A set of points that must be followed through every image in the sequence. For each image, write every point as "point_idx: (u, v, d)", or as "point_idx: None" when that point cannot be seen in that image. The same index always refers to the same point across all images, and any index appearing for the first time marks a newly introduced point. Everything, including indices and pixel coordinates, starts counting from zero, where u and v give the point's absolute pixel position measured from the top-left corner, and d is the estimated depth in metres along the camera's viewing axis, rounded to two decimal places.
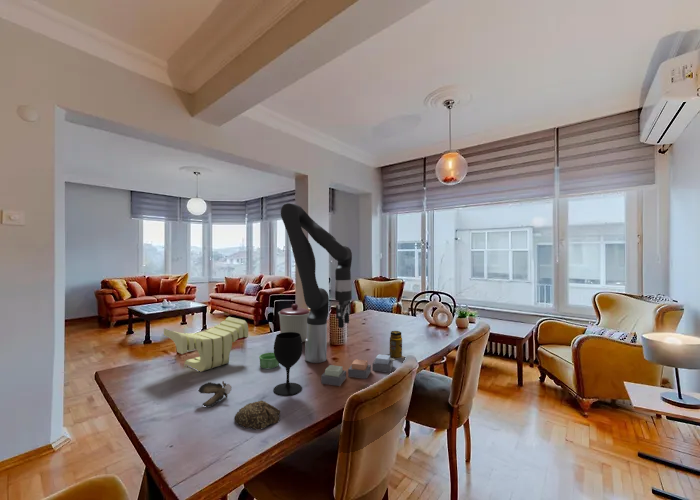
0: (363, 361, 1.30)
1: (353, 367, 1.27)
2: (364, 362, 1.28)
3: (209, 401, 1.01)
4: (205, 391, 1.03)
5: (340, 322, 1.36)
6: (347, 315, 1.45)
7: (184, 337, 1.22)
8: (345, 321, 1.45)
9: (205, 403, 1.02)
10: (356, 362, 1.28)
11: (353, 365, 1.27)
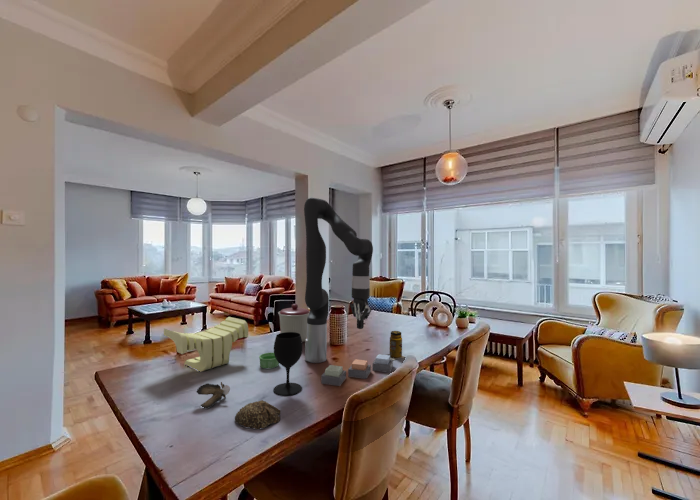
0: (363, 361, 1.30)
1: (353, 367, 1.27)
2: (364, 362, 1.28)
3: (207, 402, 1.01)
4: (203, 392, 1.03)
5: (362, 323, 1.28)
6: None
7: (184, 337, 1.22)
8: None
9: (203, 404, 1.01)
10: (356, 362, 1.28)
11: (353, 365, 1.27)
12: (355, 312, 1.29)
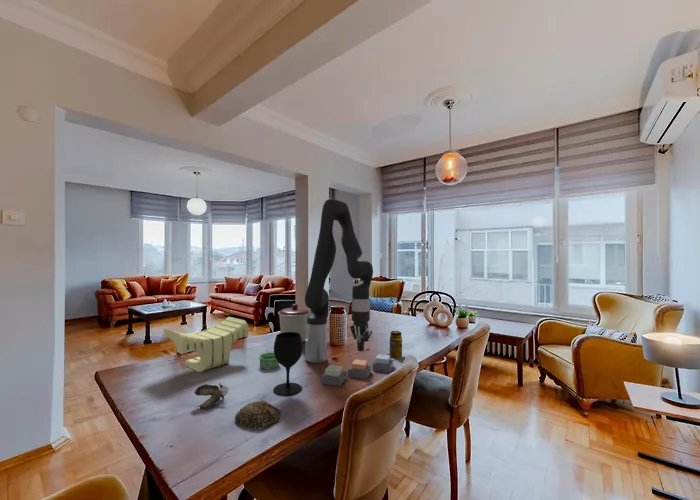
0: (363, 361, 1.30)
1: (353, 367, 1.27)
2: (364, 362, 1.28)
3: (205, 403, 1.00)
4: (201, 393, 1.02)
5: (362, 345, 1.28)
6: None
7: (184, 337, 1.22)
8: None
9: (201, 405, 1.00)
10: (356, 362, 1.28)
11: (353, 365, 1.27)
12: (355, 335, 1.29)
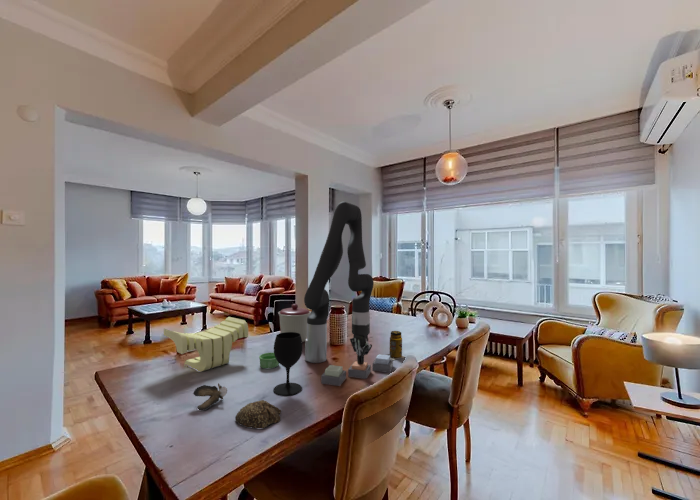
0: None
1: None
2: (364, 364, 1.28)
3: (204, 404, 0.99)
4: (200, 394, 1.01)
5: (362, 358, 1.28)
6: None
7: (184, 337, 1.22)
8: None
9: (200, 406, 1.00)
10: (356, 364, 1.28)
11: (353, 367, 1.27)
12: (355, 347, 1.29)
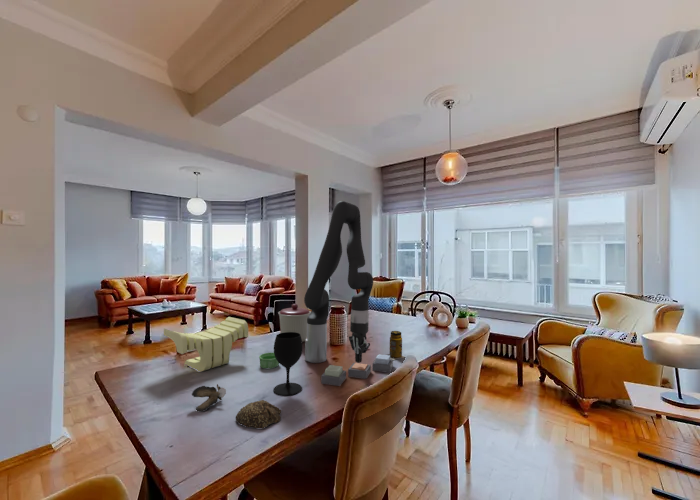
0: (363, 365, 1.30)
1: None
2: (364, 366, 1.28)
3: (203, 405, 0.99)
4: (199, 395, 1.01)
5: (360, 357, 1.27)
6: None
7: (184, 337, 1.22)
8: None
9: (198, 407, 0.99)
10: (356, 366, 1.28)
11: None
12: (354, 346, 1.28)
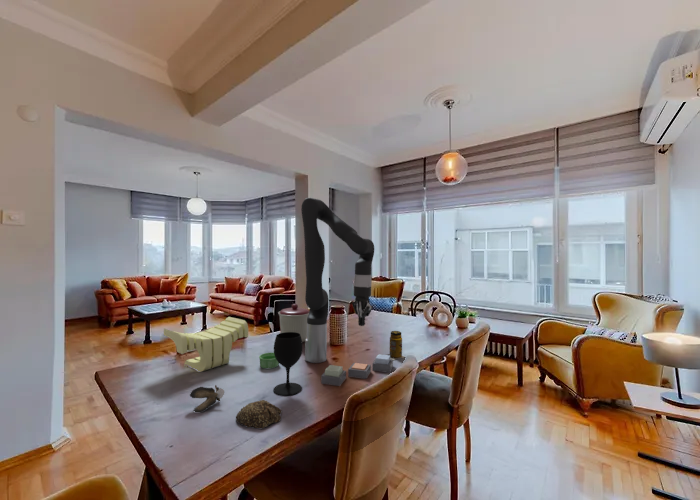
0: (363, 365, 1.30)
1: None
2: (364, 366, 1.28)
3: (201, 406, 0.98)
4: (197, 396, 1.00)
5: (363, 320, 1.32)
6: None
7: (184, 337, 1.22)
8: None
9: (197, 408, 0.98)
10: (356, 366, 1.28)
11: None
12: (357, 310, 1.33)
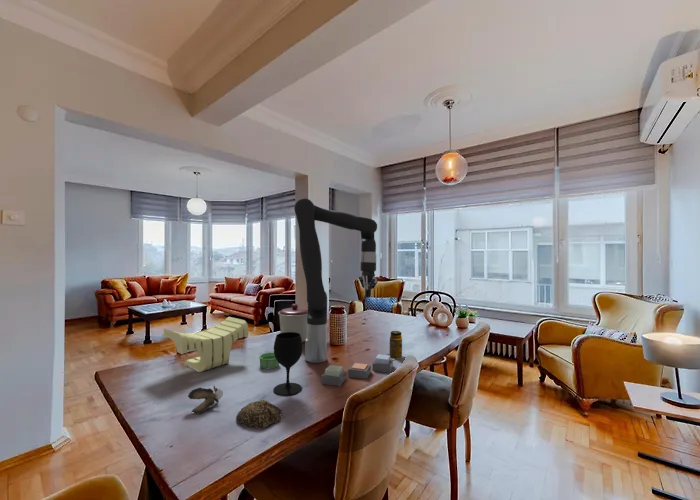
0: (363, 365, 1.30)
1: None
2: (364, 366, 1.28)
3: (199, 407, 0.97)
4: (195, 397, 0.99)
5: (369, 292, 1.47)
6: None
7: (184, 337, 1.22)
8: None
9: (195, 409, 0.98)
10: (356, 366, 1.28)
11: None
12: (363, 283, 1.48)
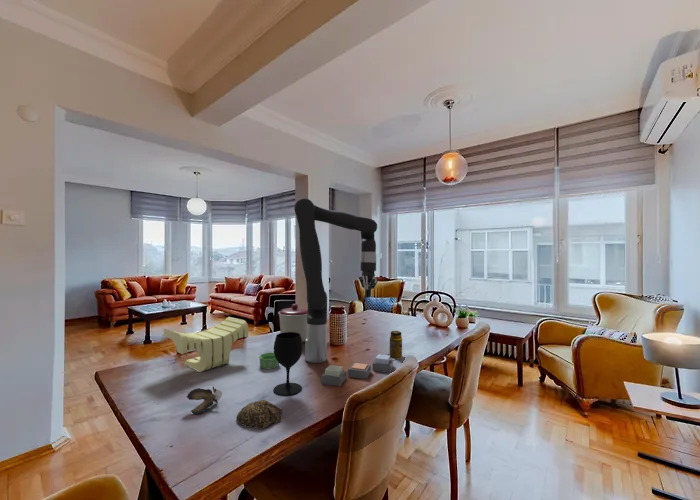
0: (363, 365, 1.30)
1: None
2: (364, 366, 1.28)
3: (198, 408, 0.97)
4: (194, 397, 0.99)
5: (369, 292, 1.47)
6: None
7: (184, 337, 1.22)
8: None
9: (194, 410, 0.97)
10: (356, 366, 1.28)
11: None
12: (363, 283, 1.48)
